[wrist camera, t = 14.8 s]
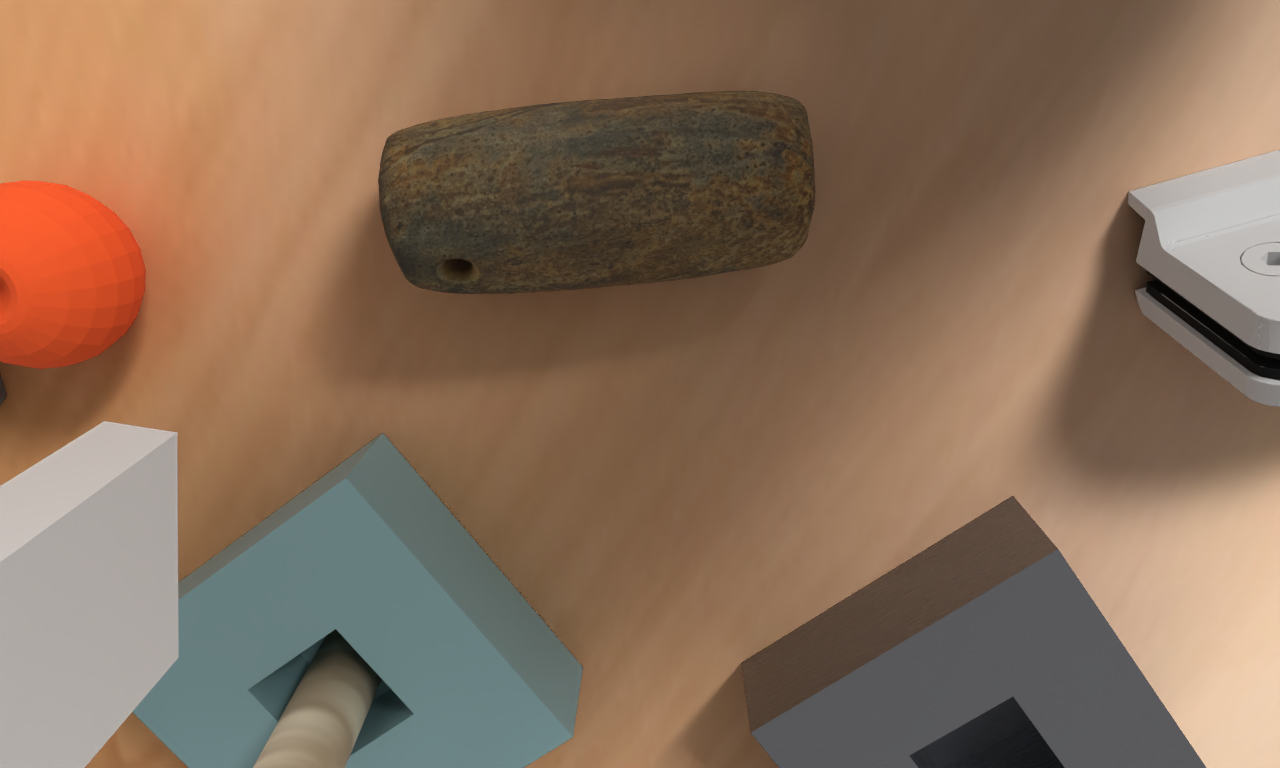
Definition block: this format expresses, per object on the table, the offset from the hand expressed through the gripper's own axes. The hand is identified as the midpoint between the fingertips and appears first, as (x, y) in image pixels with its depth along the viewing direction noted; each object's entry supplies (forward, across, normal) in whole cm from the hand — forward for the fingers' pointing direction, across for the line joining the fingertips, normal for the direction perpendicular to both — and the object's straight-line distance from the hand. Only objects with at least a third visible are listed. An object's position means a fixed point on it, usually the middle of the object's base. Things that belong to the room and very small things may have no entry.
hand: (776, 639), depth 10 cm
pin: (+28, -12, -21) cm, 37 cm away
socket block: (+29, -12, -21) cm, 38 cm away
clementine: (+29, -25, -6) cm, 39 cm away
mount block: (+29, +15, -20) cm, 38 cm away
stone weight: (+30, -4, 0) cm, 30 cm away
